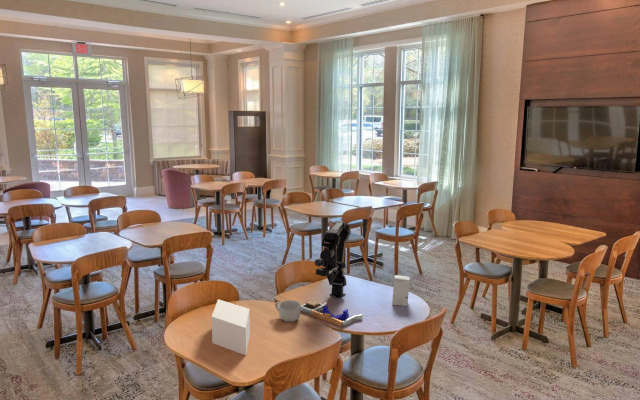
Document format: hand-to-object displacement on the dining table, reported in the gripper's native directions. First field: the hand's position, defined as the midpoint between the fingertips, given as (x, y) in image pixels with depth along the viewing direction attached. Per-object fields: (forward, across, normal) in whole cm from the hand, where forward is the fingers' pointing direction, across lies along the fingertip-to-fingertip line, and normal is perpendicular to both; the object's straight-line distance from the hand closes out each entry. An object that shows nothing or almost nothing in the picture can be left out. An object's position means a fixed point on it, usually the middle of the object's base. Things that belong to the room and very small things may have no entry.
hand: (330, 284), depth 250 cm
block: (+11, +59, -10) cm, 61 cm away
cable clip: (+12, +12, +12) cm, 21 cm away
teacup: (+12, +27, -6) cm, 30 cm away
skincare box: (+12, -26, +27) cm, 40 cm away
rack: (+12, +10, +8) cm, 17 cm away
